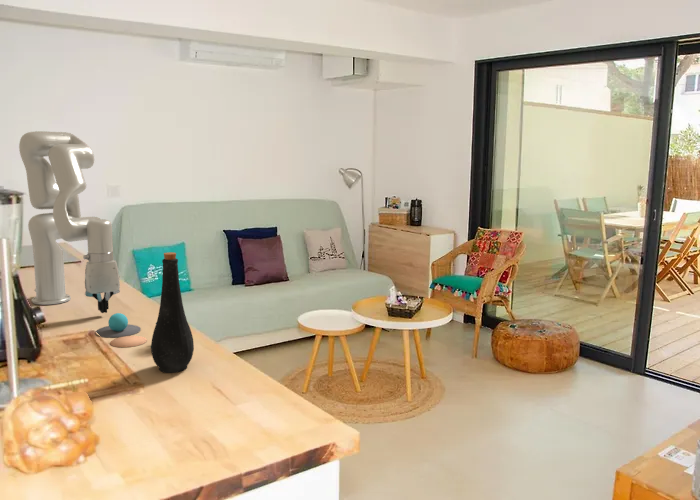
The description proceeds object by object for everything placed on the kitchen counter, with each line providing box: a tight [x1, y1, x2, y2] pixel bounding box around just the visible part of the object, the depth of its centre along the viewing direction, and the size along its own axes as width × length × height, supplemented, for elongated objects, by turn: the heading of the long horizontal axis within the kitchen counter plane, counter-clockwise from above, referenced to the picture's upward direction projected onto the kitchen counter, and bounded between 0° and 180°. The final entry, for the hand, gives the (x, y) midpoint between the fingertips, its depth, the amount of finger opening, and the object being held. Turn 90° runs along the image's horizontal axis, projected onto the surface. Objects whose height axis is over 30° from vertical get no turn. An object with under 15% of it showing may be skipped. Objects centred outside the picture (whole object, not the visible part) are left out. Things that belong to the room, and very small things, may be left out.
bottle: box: [150, 251, 195, 374], centre depth 155 cm, size 11×11×30 cm
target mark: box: [95, 323, 142, 339], centre depth 187 cm, size 13×13×1 cm
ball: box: [107, 312, 129, 332], centre depth 186 cm, size 6×6×6 cm
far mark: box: [109, 335, 148, 348], centre depth 177 cm, size 10×10×1 cm
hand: (103, 311), depth 202 cm, fingers closed
